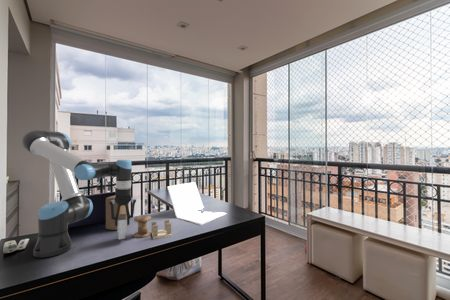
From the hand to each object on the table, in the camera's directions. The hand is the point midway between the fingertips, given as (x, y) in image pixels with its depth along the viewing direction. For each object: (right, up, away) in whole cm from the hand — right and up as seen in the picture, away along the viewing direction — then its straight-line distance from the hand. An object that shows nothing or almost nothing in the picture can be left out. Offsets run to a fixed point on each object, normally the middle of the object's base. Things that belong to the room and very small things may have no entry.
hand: (122, 231), depth 117 cm
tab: (0, -2, 0) cm, 2 cm away
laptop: (+35, -6, +46) cm, 58 cm away
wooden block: (-13, -6, +21) cm, 25 cm away
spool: (+8, -5, +8) cm, 13 cm away
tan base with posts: (+19, -5, +9) cm, 21 cm away
